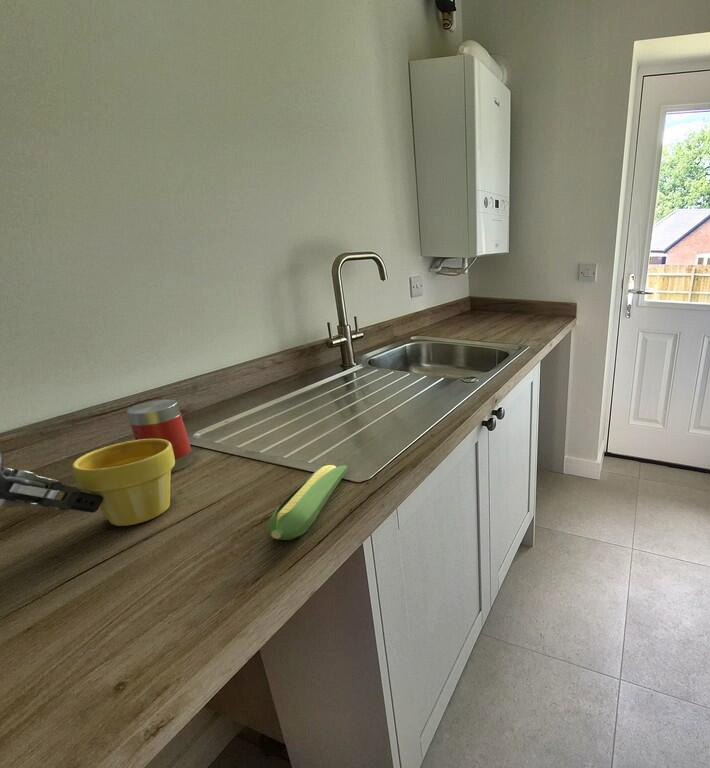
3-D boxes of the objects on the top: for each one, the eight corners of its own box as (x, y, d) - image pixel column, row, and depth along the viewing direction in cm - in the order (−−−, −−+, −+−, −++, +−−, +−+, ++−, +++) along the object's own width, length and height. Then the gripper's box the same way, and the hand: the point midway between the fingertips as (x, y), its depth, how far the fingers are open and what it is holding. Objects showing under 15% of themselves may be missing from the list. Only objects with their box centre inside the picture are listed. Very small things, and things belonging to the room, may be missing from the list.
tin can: (150, 479, 69) (129, 417, 65) (142, 466, 73) (122, 406, 70) (198, 464, 74) (181, 405, 70) (189, 452, 78) (172, 396, 74)
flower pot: (180, 486, 67) (165, 431, 64) (191, 512, 60) (176, 452, 58) (92, 512, 60) (71, 452, 57) (94, 545, 53) (70, 479, 50)
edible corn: (259, 551, 53) (252, 521, 51) (329, 470, 72) (325, 447, 70) (299, 551, 52) (293, 522, 51) (358, 470, 71) (355, 447, 70)
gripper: (-16, 437, 40) (150, 481, 55) (-108, 426, 42) (75, 471, 57) (-75, 517, 36) (119, 540, 52) (-171, 500, 39) (40, 527, 54)
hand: (95, 504), depth 54 cm, fingers closed
